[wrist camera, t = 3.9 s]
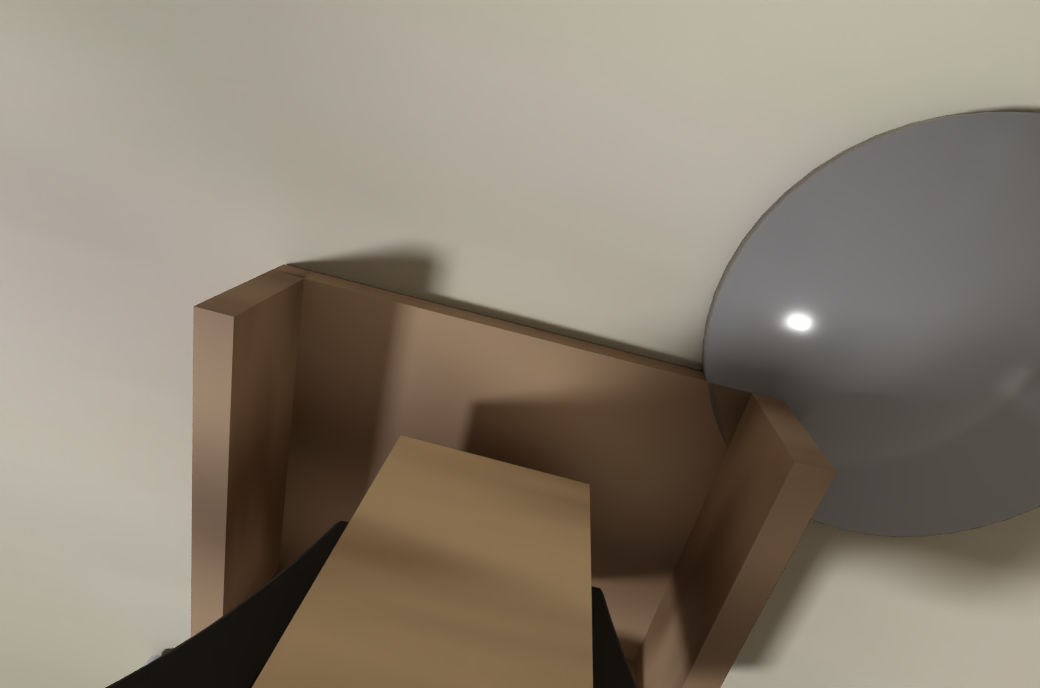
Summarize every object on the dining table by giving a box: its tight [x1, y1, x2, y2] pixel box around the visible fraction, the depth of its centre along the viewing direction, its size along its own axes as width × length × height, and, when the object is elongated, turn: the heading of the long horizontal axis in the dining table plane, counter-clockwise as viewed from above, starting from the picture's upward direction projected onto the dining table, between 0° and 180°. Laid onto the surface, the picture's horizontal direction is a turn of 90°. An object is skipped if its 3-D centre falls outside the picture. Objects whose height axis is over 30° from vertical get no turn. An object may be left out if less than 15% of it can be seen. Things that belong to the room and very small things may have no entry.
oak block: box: [252, 435, 593, 688], centre depth 11 cm, size 4×4×6 cm
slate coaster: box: [702, 112, 1040, 537], centre depth 13 cm, size 10×10×1 cm
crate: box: [191, 264, 836, 688], centre depth 14 cm, size 10×13×4 cm
